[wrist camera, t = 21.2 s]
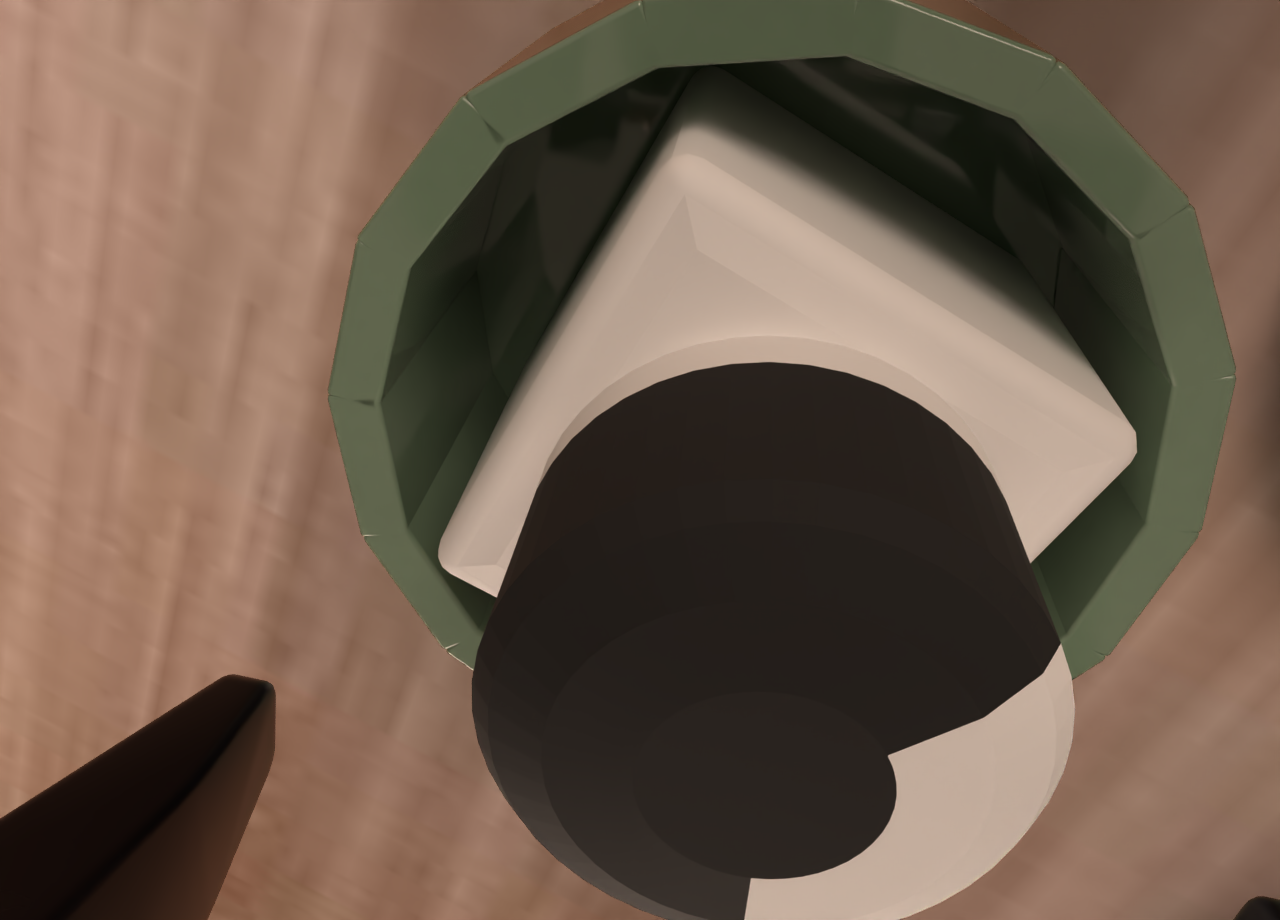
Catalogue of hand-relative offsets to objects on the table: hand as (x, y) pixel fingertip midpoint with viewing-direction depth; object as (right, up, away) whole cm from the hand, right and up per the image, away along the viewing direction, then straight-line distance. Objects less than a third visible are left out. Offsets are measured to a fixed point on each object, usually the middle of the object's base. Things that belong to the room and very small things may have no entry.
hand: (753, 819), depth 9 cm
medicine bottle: (+1, +6, +11) cm, 13 cm away
